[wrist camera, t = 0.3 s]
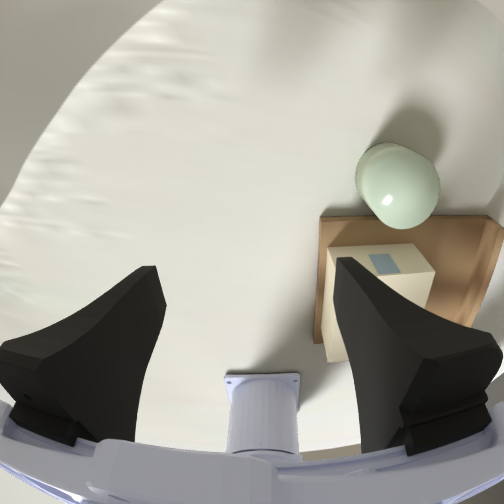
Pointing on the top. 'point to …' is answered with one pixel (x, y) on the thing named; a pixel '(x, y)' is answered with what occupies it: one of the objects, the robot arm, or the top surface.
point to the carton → (383, 267)
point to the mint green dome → (397, 185)
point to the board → (434, 251)
